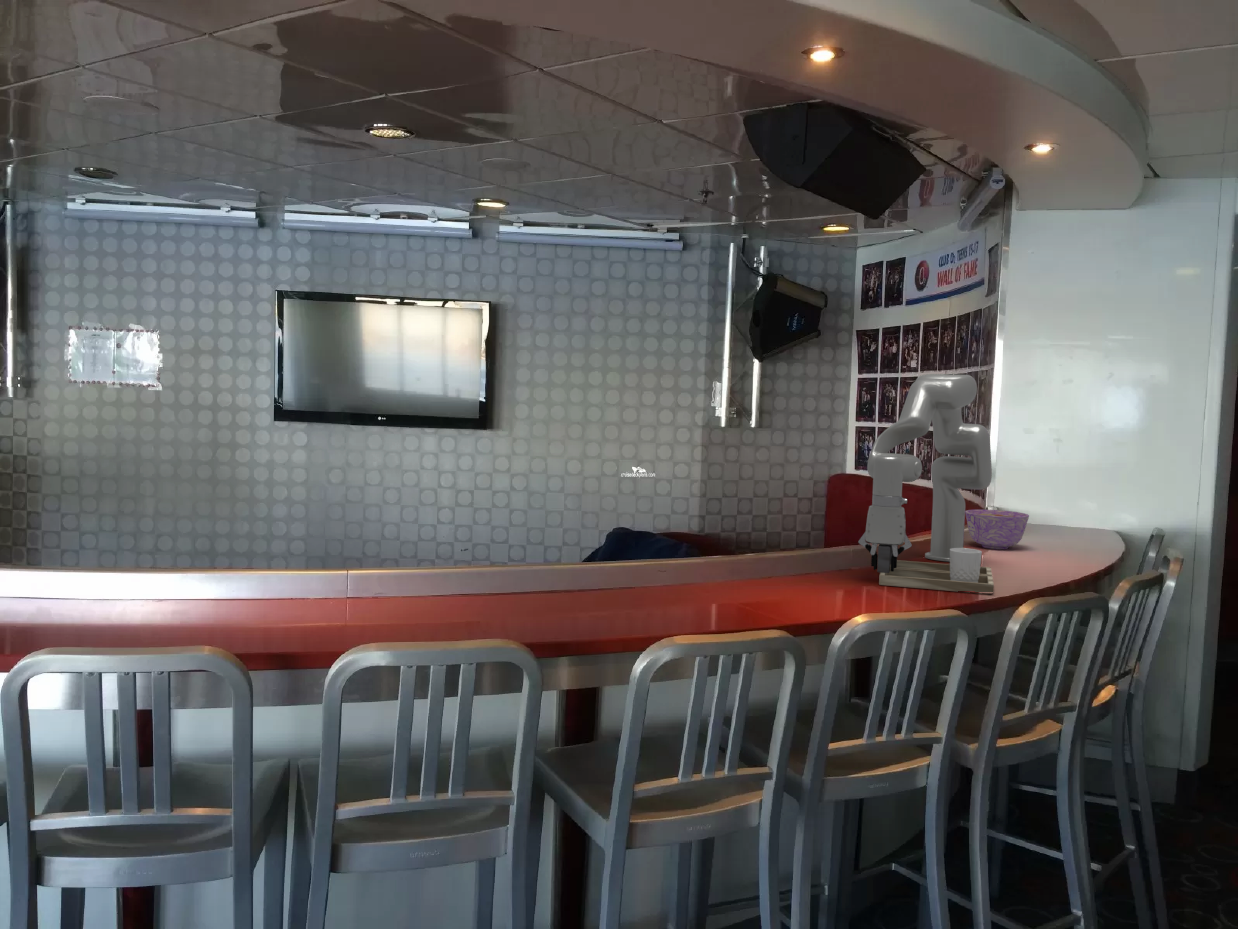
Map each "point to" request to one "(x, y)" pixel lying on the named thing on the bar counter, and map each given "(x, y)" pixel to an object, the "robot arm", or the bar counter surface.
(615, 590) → the bar counter surface
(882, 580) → the glass sled
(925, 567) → the cube sled
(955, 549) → the white cup
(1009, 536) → the bowl of food
